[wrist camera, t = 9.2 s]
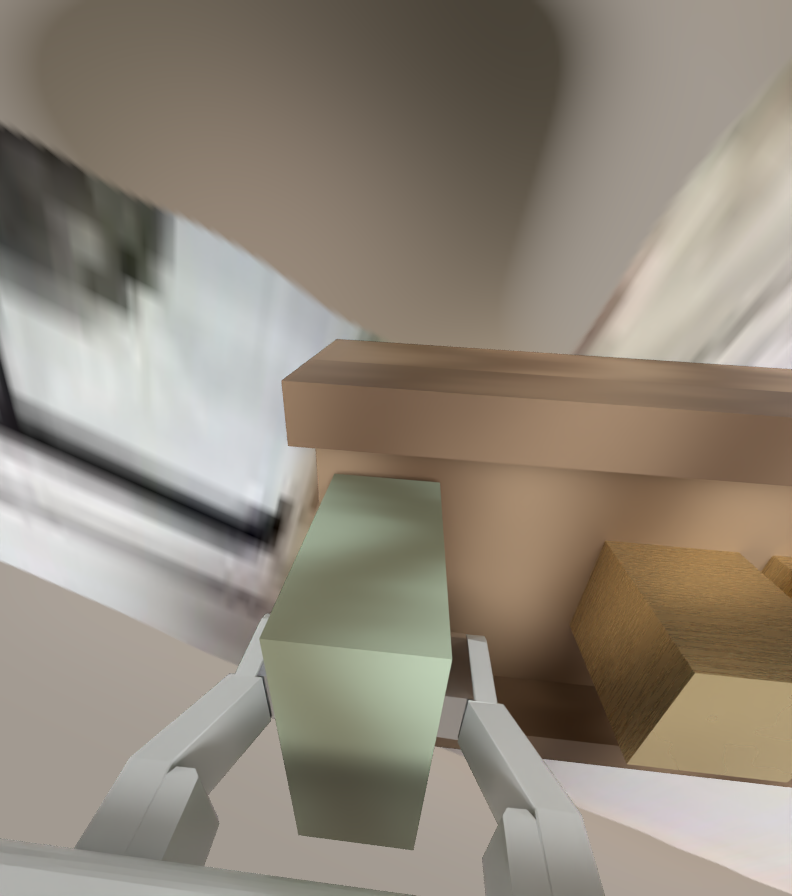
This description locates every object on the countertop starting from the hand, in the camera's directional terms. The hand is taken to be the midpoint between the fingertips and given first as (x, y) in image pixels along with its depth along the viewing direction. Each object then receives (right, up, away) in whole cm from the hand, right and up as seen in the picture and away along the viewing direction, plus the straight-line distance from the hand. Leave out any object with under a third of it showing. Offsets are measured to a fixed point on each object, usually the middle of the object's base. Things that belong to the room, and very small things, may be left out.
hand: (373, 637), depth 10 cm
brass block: (+9, 0, +2) cm, 9 cm away
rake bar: (0, +1, +2) cm, 2 cm away
